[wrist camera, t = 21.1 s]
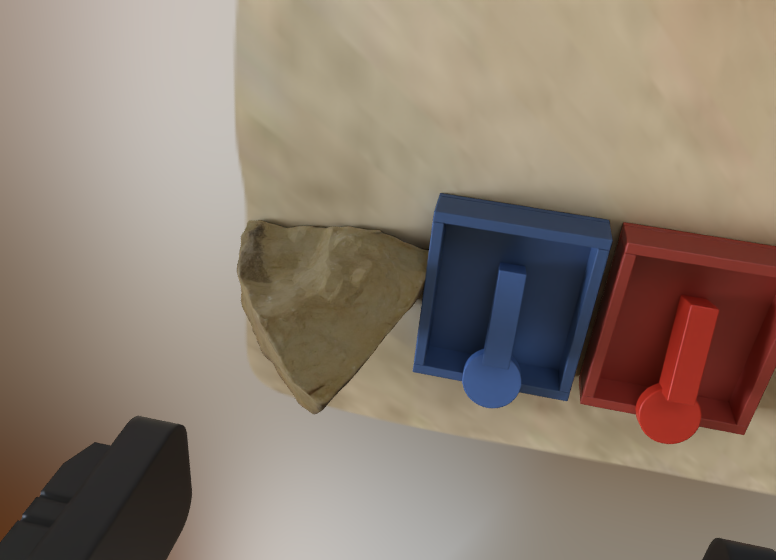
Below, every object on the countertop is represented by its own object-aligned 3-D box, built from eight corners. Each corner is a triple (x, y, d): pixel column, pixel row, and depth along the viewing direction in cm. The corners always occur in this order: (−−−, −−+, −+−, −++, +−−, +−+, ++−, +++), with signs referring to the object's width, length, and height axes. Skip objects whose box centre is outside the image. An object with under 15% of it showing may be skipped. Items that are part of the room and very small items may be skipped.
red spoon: (662, 291, 38) (672, 301, 35) (725, 302, 37) (739, 312, 35) (629, 430, 39) (636, 447, 37) (689, 442, 39) (700, 460, 37)
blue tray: (440, 192, 38) (434, 211, 36) (609, 219, 37) (613, 240, 35) (418, 348, 43) (412, 372, 41) (566, 375, 42) (567, 401, 40)
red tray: (623, 221, 36) (628, 242, 34) (803, 250, 35) (819, 274, 33) (578, 377, 42) (580, 404, 40) (734, 407, 41) (744, 435, 39)
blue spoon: (483, 259, 39) (482, 267, 36) (542, 269, 38) (544, 277, 36) (459, 395, 40) (456, 410, 38) (515, 406, 40) (516, 422, 38)
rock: (190, 286, 41) (315, 404, 42) (156, 275, 33) (314, 424, 33) (320, 154, 42) (441, 270, 43) (320, 111, 34) (471, 256, 34)
